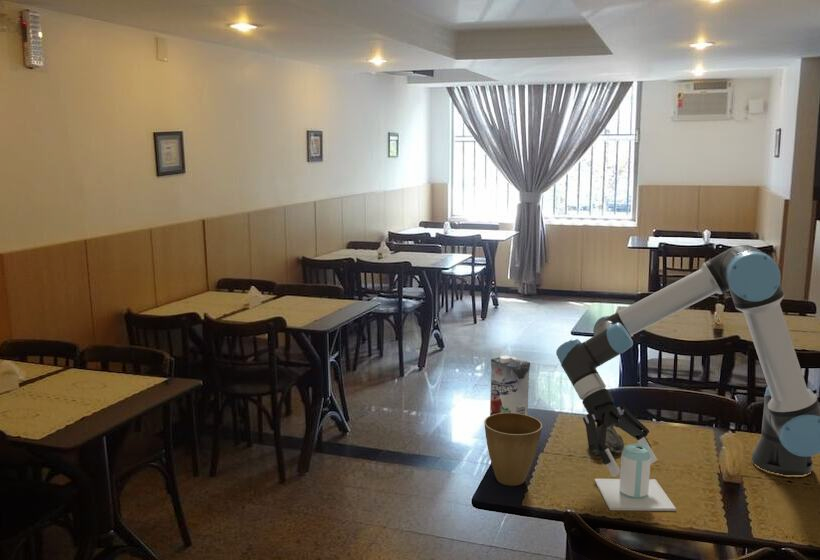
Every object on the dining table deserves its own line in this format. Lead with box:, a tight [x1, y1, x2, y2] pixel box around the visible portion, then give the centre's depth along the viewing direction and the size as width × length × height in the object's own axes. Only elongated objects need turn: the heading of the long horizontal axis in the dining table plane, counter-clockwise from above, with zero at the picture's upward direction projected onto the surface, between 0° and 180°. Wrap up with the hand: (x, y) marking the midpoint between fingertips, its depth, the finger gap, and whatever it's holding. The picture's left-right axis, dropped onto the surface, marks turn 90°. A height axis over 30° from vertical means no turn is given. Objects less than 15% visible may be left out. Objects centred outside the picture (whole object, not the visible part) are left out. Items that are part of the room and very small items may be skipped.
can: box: [619, 443, 651, 498], centre depth 191 cm, size 7×7×12 cm
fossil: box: [588, 423, 625, 456], centre depth 220 cm, size 11×9×10 cm
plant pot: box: [483, 413, 543, 487], centre depth 199 cm, size 15×15×16 cm
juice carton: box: [489, 355, 531, 416], centre depth 221 cm, size 9×10×27 cm
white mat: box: [594, 478, 677, 512], centre depth 192 cm, size 16×16×1 cm
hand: (635, 468), depth 190 cm, fingers open, 13 cm apart
